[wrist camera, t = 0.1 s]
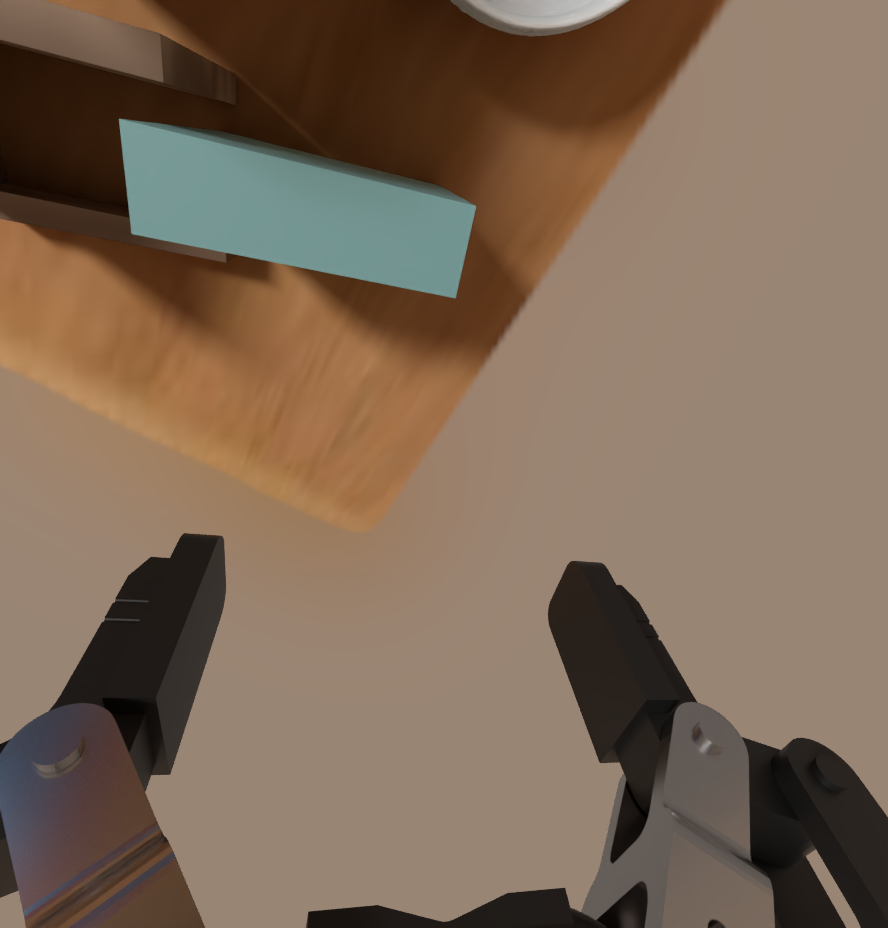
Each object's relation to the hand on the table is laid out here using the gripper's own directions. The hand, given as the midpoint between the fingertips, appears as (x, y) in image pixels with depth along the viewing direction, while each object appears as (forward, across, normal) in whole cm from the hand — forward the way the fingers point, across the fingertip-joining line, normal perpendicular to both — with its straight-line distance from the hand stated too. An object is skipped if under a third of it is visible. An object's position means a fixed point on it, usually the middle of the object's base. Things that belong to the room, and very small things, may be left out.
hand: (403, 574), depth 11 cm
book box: (+29, +4, -5) cm, 30 cm away
